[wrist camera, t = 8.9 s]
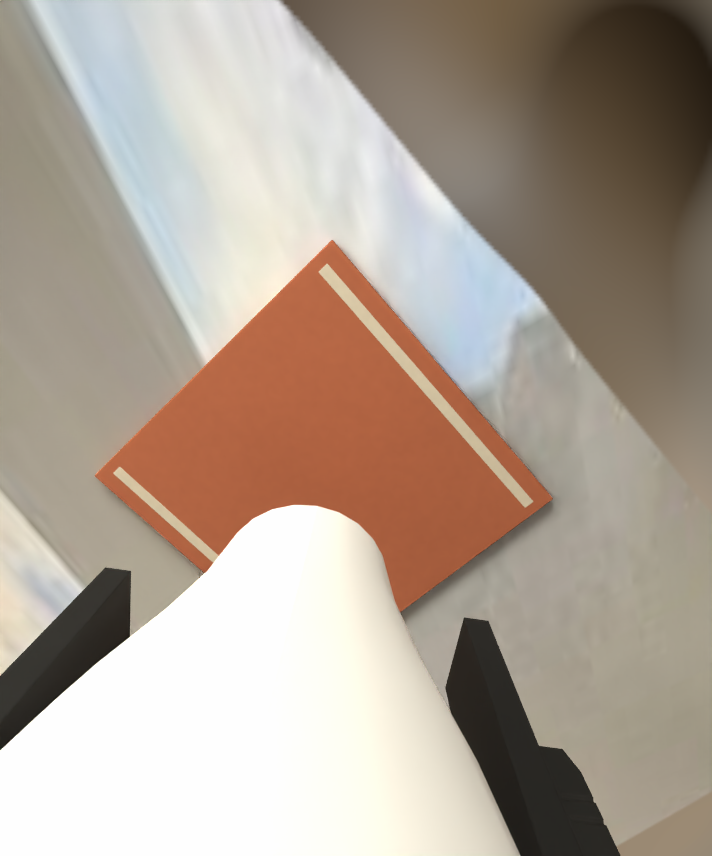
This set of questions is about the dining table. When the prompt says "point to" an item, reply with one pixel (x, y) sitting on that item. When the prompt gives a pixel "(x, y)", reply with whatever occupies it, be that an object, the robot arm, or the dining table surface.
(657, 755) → the dining table surface
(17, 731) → the robot arm
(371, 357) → the napkin
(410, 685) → the cup
